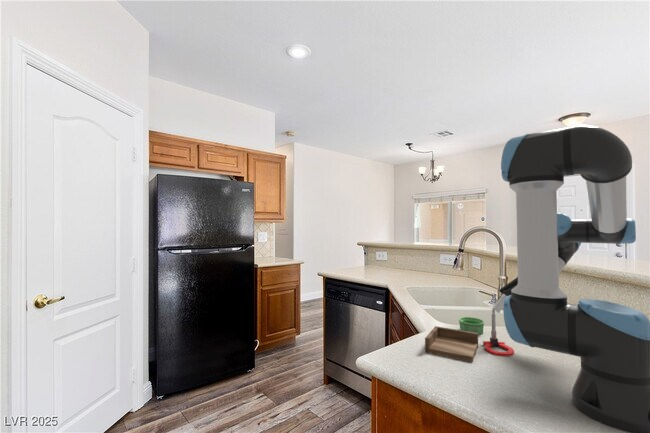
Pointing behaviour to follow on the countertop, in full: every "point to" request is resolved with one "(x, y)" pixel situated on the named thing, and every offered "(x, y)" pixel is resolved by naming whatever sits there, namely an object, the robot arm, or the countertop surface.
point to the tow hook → (496, 340)
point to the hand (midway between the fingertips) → (510, 315)
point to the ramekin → (471, 324)
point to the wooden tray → (452, 343)
